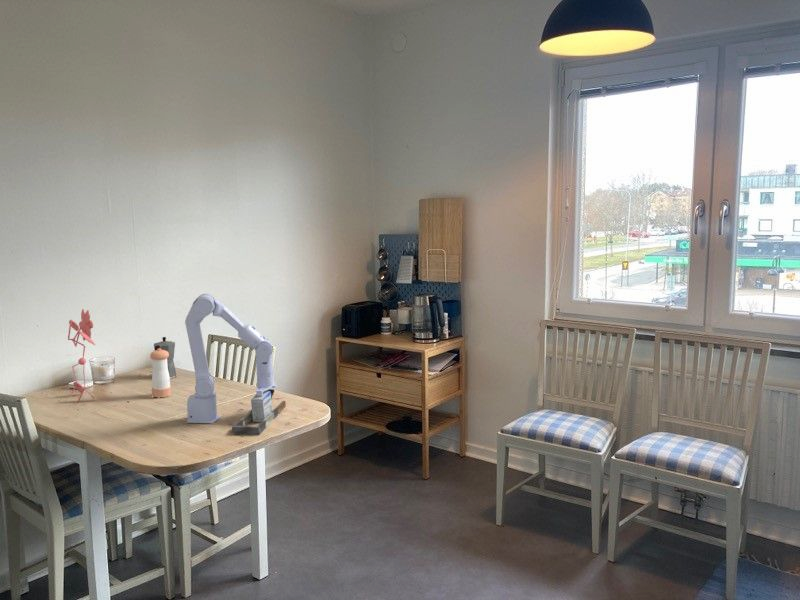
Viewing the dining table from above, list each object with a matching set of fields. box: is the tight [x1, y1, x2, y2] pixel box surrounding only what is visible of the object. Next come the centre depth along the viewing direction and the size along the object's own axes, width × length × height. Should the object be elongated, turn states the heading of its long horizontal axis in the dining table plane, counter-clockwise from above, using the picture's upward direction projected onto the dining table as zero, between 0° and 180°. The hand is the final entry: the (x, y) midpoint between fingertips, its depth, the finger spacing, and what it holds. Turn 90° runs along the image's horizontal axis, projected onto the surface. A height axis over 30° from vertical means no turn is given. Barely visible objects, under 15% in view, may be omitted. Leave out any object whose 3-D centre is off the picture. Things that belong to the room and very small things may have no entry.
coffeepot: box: [153, 336, 177, 377], centre depth 284 cm, size 15×9×18 cm, turn 175°
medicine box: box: [250, 391, 273, 423], centre depth 227 cm, size 8×4×9 cm, turn 170°
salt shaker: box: [149, 348, 172, 398], centre depth 256 cm, size 7×7×19 cm
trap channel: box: [232, 400, 287, 436], centre depth 226 cm, size 9×30×2 cm, turn 173°
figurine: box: [67, 308, 96, 402], centre depth 254 cm, size 15×26×35 cm, turn 43°
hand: (267, 409), depth 232 cm, fingers closed, pressing on medicine box
